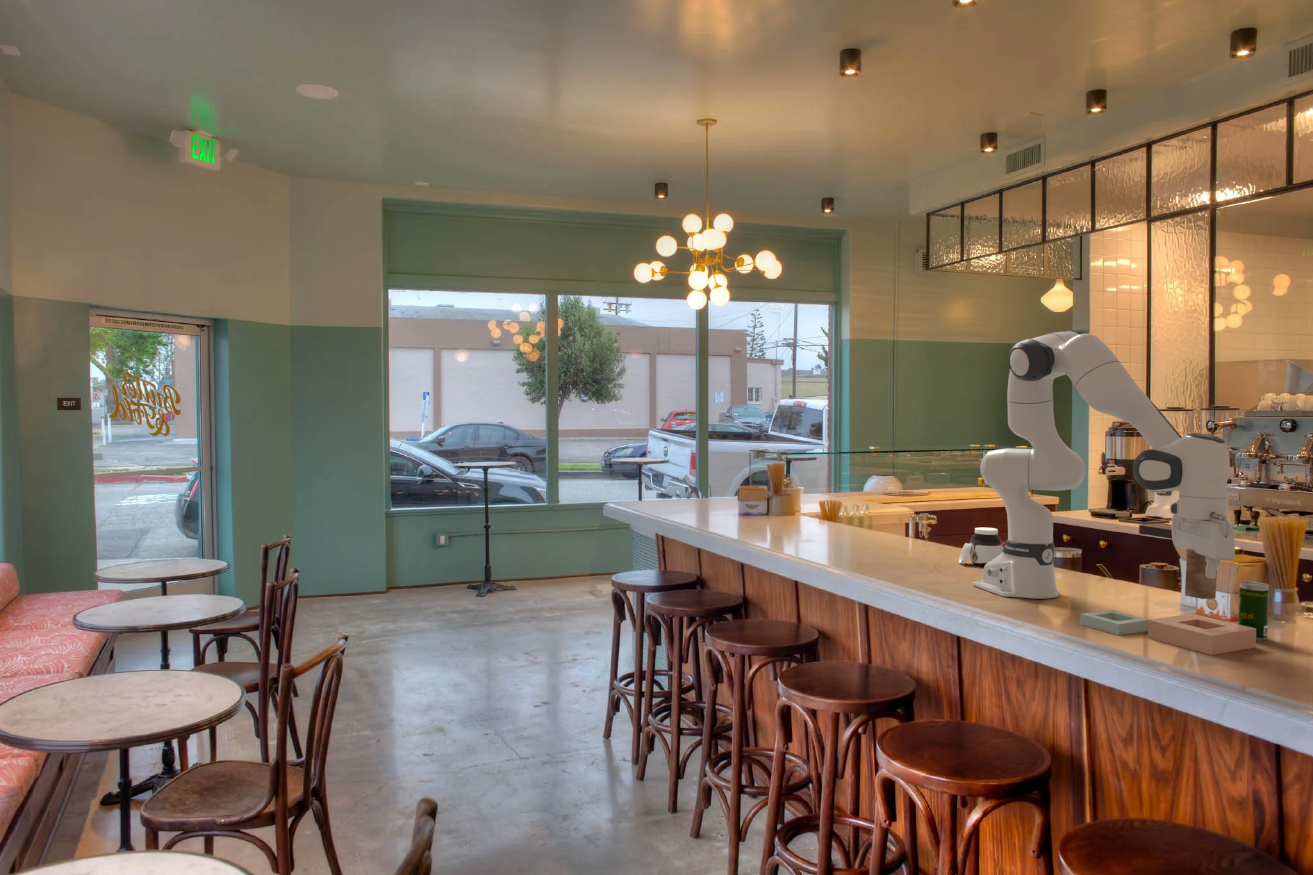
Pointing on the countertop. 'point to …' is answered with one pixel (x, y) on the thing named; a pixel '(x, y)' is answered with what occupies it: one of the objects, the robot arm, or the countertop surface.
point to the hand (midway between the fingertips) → (1201, 574)
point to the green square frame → (1114, 622)
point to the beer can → (1254, 607)
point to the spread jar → (982, 547)
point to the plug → (1198, 577)
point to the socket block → (1202, 634)
